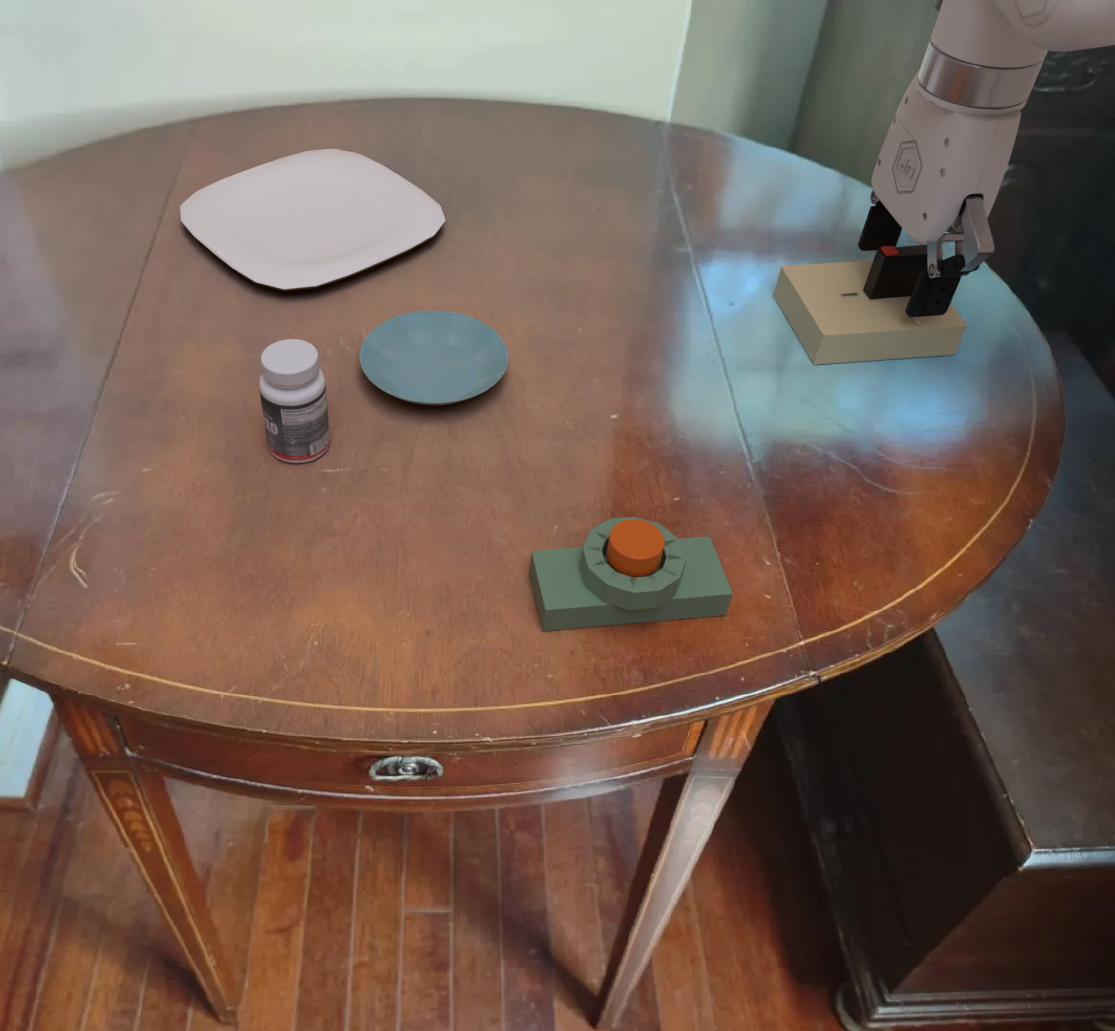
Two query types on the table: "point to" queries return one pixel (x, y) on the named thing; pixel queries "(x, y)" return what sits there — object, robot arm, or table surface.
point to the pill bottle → (294, 401)
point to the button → (635, 547)
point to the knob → (895, 271)
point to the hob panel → (858, 317)
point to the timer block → (627, 583)
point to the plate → (311, 218)
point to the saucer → (434, 357)
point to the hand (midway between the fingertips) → (899, 280)
